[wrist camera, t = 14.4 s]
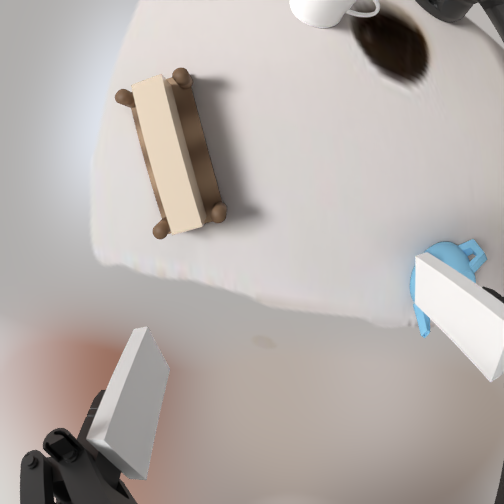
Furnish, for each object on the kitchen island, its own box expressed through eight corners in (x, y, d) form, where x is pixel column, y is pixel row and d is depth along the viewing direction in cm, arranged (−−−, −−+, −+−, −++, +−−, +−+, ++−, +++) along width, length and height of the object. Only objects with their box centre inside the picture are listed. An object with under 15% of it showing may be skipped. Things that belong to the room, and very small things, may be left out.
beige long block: (144, 93, 34) (131, 85, 29) (171, 84, 34) (161, 73, 29) (180, 223, 41) (172, 235, 35) (206, 216, 41) (202, 226, 35)
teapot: (455, 297, 51) (484, 322, 40) (400, 316, 51) (428, 347, 40) (462, 230, 46) (498, 248, 35) (404, 243, 46) (440, 266, 35)
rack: (127, 96, 35) (113, 89, 30) (191, 73, 35) (185, 62, 30) (165, 233, 42) (156, 244, 37) (229, 215, 42) (228, 224, 37)
